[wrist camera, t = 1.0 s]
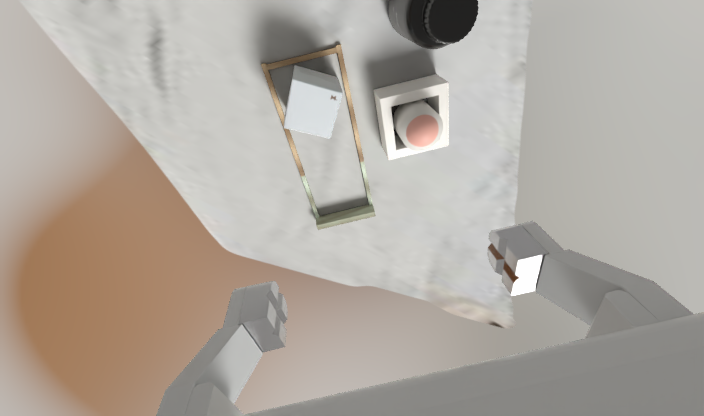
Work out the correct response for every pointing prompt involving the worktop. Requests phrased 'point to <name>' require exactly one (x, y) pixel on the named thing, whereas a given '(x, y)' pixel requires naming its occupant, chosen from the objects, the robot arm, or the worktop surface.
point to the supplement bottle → (433, 20)
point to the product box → (312, 102)
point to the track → (323, 220)
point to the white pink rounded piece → (417, 125)
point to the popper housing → (404, 93)
